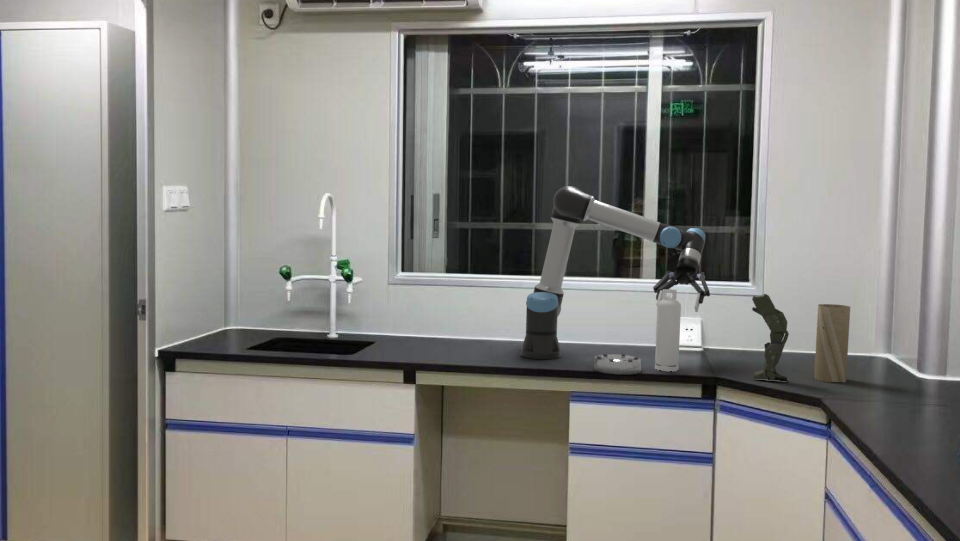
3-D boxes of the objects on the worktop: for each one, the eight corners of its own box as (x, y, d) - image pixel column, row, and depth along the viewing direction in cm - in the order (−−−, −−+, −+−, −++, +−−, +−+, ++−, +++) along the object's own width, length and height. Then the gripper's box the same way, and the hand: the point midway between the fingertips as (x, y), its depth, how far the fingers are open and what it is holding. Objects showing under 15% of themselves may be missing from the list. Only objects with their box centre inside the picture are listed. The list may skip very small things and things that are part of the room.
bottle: (680, 368, 296) (683, 289, 294) (675, 372, 289) (679, 291, 286) (657, 366, 299) (660, 288, 297) (652, 369, 292) (655, 290, 290)
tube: (843, 384, 275) (847, 308, 273) (811, 380, 280) (815, 306, 278) (848, 379, 283) (852, 305, 282) (817, 375, 289) (821, 303, 287)
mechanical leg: (799, 377, 279) (780, 289, 279) (799, 382, 272) (780, 291, 272) (756, 383, 284) (738, 297, 284) (756, 388, 277) (737, 299, 277)
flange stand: (598, 374, 282) (598, 360, 282) (590, 365, 298) (590, 351, 298) (645, 374, 283) (645, 360, 283) (634, 365, 299) (635, 352, 299)
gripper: (724, 272, 307) (713, 317, 295) (657, 268, 318) (644, 312, 306) (721, 258, 301) (711, 304, 289) (653, 255, 313) (640, 299, 301)
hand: (676, 308), depth 298 cm, fingers open, 13 cm apart
